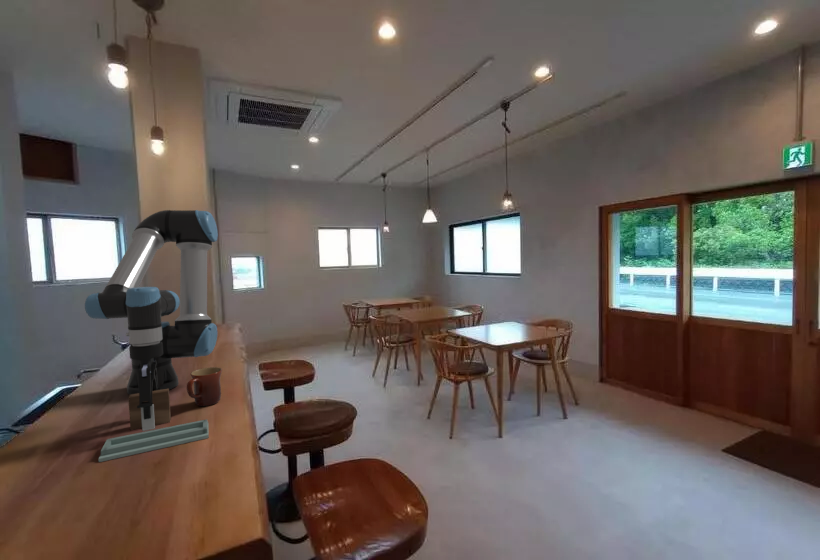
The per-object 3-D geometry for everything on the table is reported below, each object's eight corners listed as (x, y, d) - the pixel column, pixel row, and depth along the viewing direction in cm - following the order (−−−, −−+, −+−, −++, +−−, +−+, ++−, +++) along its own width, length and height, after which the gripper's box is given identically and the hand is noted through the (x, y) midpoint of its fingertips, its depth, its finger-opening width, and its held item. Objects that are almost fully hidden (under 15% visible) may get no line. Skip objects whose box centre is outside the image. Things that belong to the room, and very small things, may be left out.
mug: (206, 396, 123) (204, 366, 122) (229, 398, 121) (228, 367, 121) (177, 411, 111) (175, 378, 111) (202, 413, 110) (200, 379, 109)
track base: (107, 444, 92) (107, 437, 92) (208, 424, 102) (208, 417, 102) (98, 462, 84) (98, 453, 84) (208, 437, 95) (208, 430, 94)
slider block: (132, 426, 102) (130, 394, 101) (170, 419, 106) (169, 388, 106) (130, 430, 100) (128, 397, 99) (170, 422, 104) (168, 391, 104)
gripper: (136, 337, 109) (140, 410, 111) (121, 353, 90) (127, 442, 92) (166, 334, 113) (170, 405, 114) (158, 349, 94) (163, 435, 95)
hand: (151, 422), depth 103 cm, fingers open, 9 cm apart
